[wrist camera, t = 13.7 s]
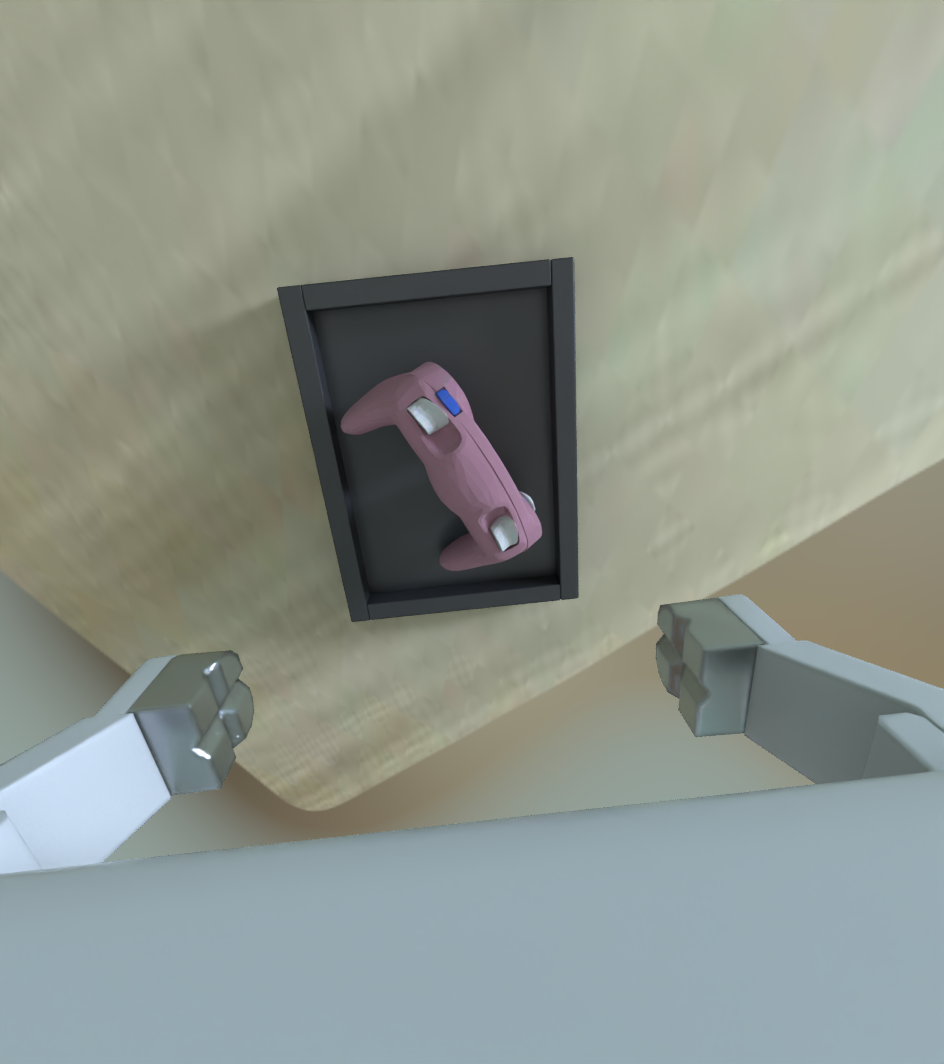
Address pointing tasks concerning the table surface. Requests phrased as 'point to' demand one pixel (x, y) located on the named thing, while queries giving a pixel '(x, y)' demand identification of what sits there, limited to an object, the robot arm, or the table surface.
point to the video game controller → (453, 463)
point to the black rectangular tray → (498, 409)
